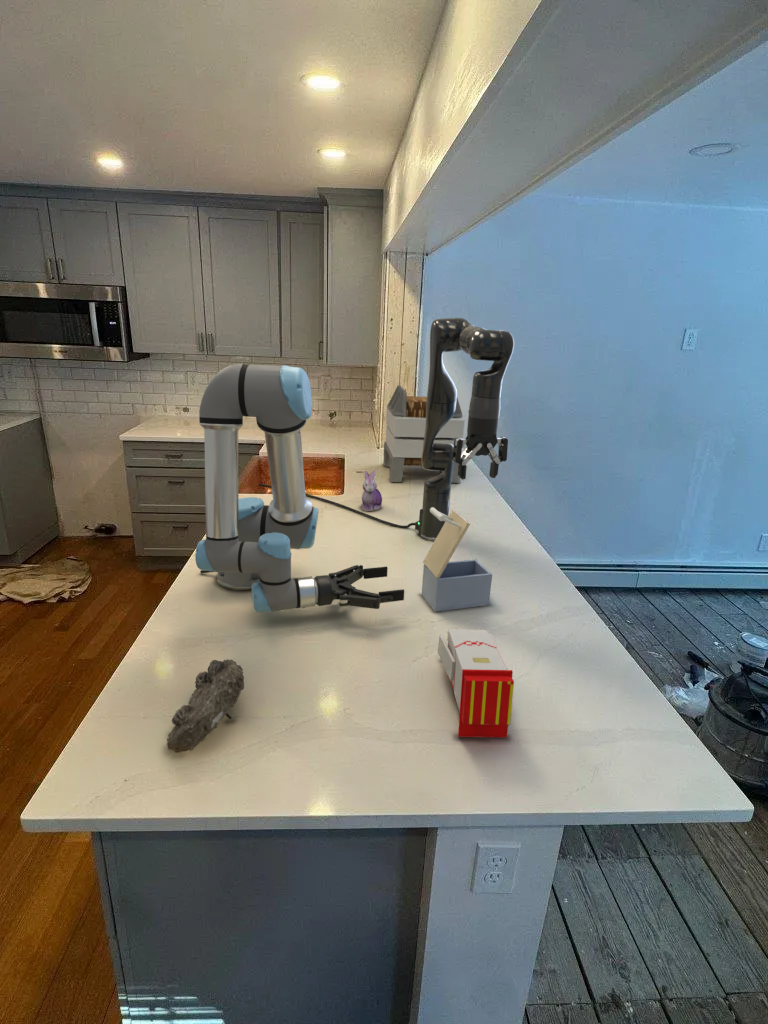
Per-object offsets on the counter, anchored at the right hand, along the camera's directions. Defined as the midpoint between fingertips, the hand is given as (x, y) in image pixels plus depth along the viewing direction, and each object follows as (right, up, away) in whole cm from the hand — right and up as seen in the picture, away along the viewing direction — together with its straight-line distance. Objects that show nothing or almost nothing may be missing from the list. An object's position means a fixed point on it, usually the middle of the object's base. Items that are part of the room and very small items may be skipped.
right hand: (477, 477), depth 145 cm
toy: (-6, -46, -27) cm, 54 cm away
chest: (-5, -33, +11) cm, 35 cm away
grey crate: (-7, +10, +130) cm, 130 cm away
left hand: (-21, -27, +4) cm, 35 cm away
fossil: (-57, -48, -37) cm, 83 cm away
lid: (-7, -17, +4) cm, 19 cm away
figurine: (-29, -7, +79) cm, 85 cm away
